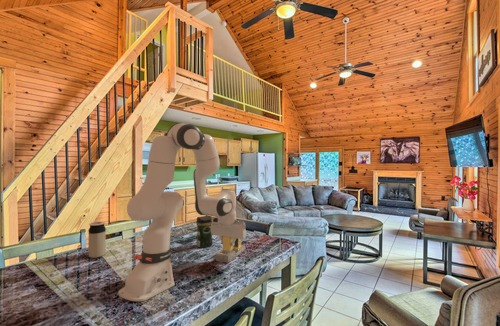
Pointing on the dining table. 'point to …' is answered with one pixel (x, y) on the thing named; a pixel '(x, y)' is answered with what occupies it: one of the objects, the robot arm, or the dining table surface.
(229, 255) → the beige base with post
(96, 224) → the travel mug
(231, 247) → the yellow block grey top
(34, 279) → the dining table surface
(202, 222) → the coffee jar
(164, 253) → the robot arm
